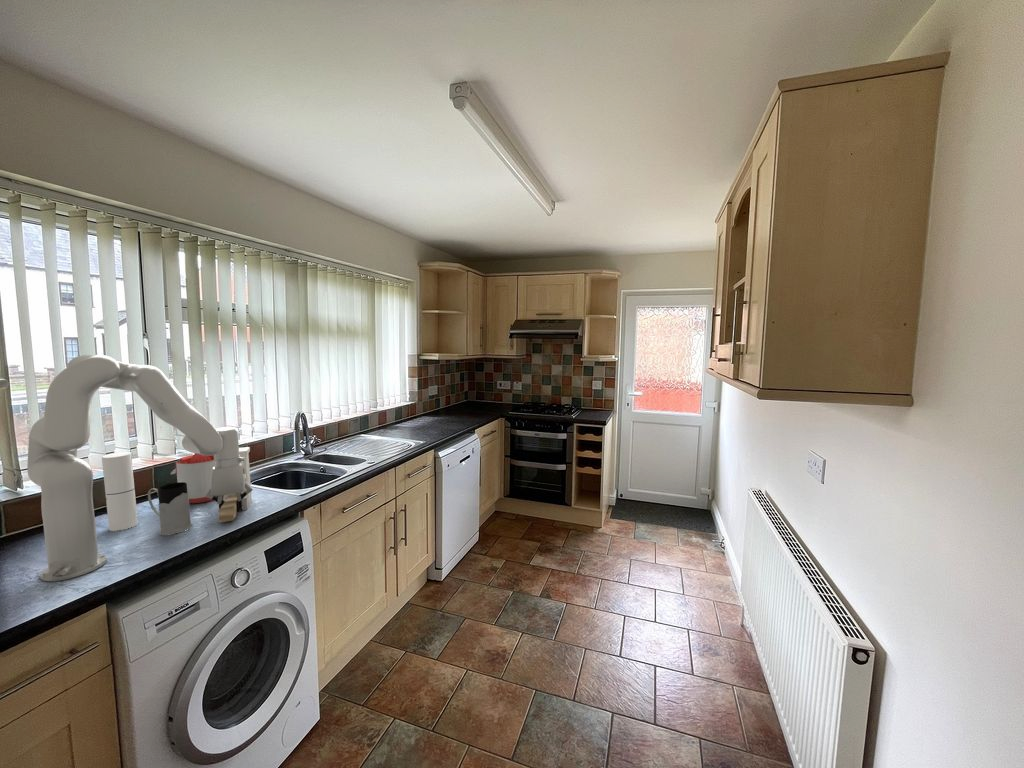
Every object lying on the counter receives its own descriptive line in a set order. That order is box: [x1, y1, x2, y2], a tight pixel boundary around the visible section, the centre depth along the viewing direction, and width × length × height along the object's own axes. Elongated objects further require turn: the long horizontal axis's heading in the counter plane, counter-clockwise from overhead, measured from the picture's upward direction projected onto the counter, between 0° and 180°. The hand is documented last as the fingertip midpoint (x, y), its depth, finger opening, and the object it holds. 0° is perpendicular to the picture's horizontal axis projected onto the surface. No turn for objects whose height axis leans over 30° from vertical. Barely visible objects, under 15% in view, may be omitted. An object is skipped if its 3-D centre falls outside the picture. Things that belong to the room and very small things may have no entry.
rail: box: [218, 495, 239, 523], centre depth 149 cm, size 17×4×4 cm, turn 24°
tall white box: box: [223, 446, 253, 511], centre depth 157 cm, size 10×9×22 cm
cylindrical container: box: [101, 451, 138, 532], centre depth 140 cm, size 7×7×25 cm
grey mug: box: [147, 482, 194, 536], centre depth 139 cm, size 9×14×15 cm, turn 80°
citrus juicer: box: [170, 453, 215, 504], centre depth 166 cm, size 16×17×20 cm
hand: (231, 511), depth 149 cm, fingers closed on rail, 4 cm apart
